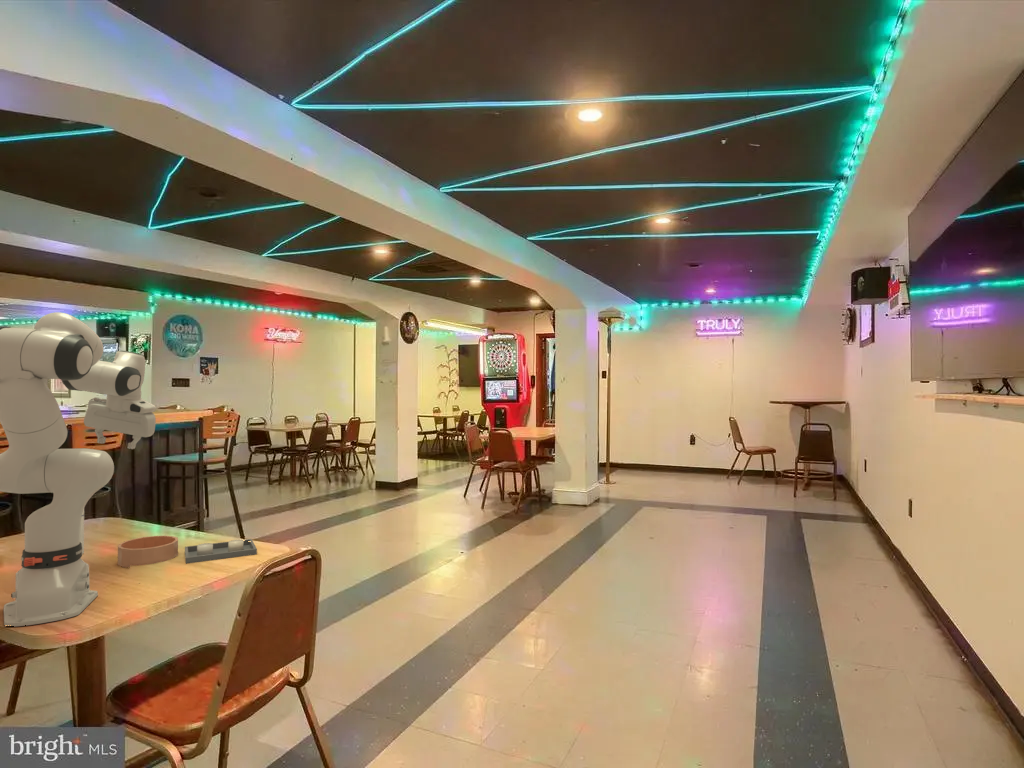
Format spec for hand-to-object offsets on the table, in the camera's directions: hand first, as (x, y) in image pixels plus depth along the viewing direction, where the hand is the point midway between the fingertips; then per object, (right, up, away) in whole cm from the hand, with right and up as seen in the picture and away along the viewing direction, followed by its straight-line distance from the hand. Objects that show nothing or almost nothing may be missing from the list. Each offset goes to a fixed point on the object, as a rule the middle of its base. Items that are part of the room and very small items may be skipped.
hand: (116, 445), depth 182 cm
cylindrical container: (-19, -36, +6) cm, 41 cm away
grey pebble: (+25, -36, +5) cm, 44 cm away
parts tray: (+29, -36, +7) cm, 47 cm away
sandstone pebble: (+33, -36, +9) cm, 50 cm away
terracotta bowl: (+9, -36, +2) cm, 37 cm away
